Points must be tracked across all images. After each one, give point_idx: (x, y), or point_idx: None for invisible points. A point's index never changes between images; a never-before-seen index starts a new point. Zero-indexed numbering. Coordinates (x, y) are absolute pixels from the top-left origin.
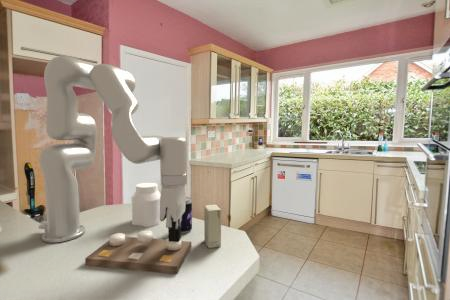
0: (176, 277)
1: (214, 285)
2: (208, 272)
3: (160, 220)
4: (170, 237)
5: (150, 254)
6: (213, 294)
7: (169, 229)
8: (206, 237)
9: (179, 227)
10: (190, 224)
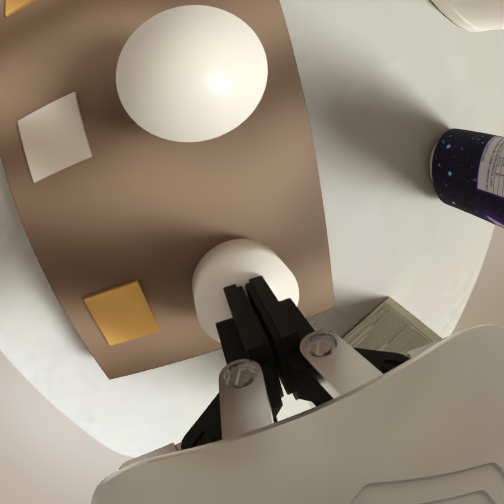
0: (96, 364)
1: (142, 443)
2: (183, 418)
3: (94, 493)
4: (217, 330)
5: (109, 201)
6: (114, 449)
7: (246, 349)
8: (371, 346)
9: (296, 395)
10: (468, 212)
